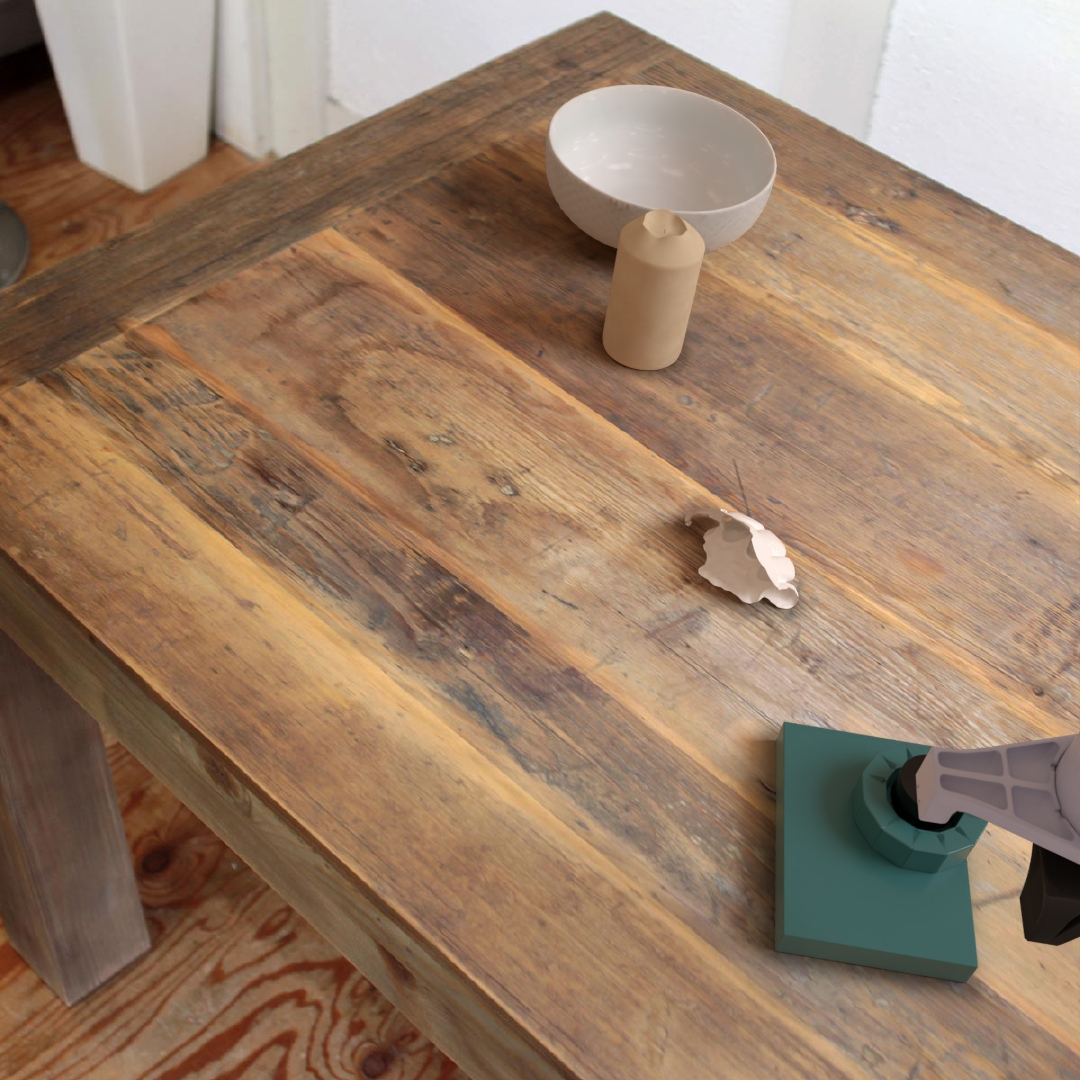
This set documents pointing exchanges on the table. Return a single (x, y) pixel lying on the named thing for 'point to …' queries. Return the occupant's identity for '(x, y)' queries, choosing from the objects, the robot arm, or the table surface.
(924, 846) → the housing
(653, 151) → the cereal bowl
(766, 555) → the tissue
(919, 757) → the button
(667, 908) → the table surface
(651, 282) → the candle
